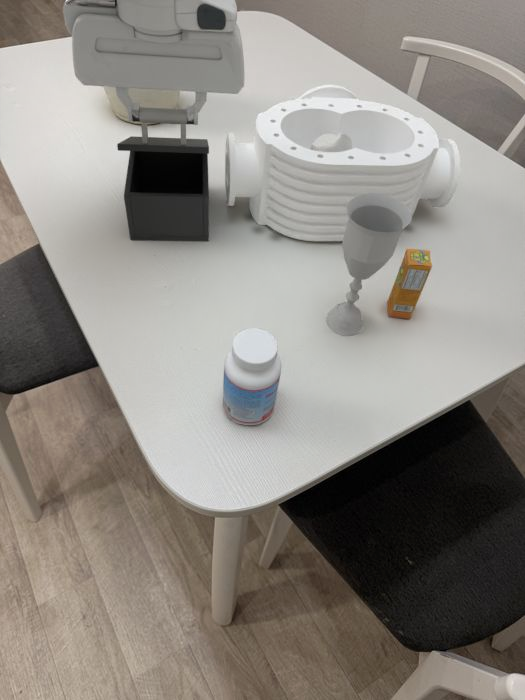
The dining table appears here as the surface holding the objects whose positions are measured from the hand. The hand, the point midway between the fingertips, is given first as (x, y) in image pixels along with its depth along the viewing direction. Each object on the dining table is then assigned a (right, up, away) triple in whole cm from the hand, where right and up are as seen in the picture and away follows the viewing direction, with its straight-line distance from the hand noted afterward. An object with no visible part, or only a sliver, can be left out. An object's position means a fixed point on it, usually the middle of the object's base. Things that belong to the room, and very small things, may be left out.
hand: (164, 121), depth 67 cm
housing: (+24, -5, +20) cm, 31 cm away
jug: (-10, +17, +33) cm, 38 cm away
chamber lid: (-1, -1, +6) cm, 6 cm away
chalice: (+24, -26, +3) cm, 36 cm away
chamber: (-2, -8, +14) cm, 16 cm away
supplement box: (+32, -25, +5) cm, 40 cm away
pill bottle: (+11, -37, -7) cm, 39 cm away
